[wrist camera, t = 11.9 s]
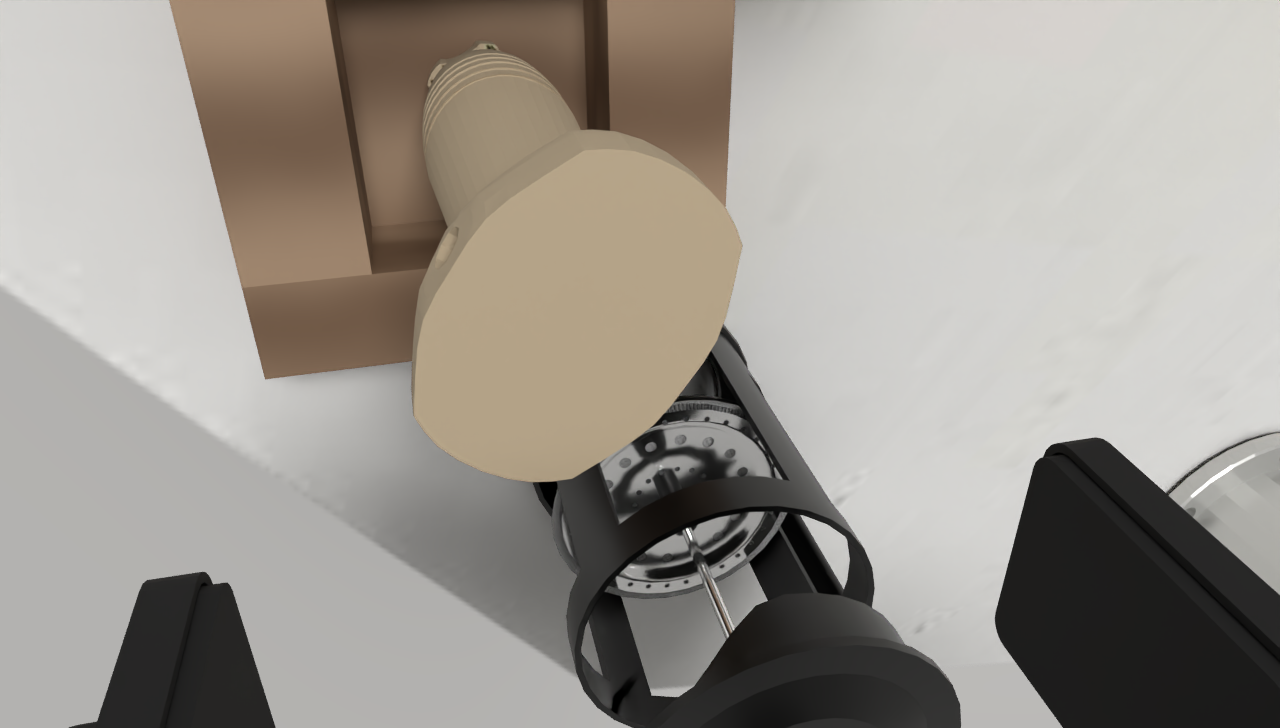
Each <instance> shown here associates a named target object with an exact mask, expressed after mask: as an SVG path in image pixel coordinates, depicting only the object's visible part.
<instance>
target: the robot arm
mask: <svg viewBox="0 0 1280 728" xmlns="http://www.w3.org/2000/svg"><path fill="white" fill-rule="evenodd" d="M995 625H996V629H997V633H998V636H999V638H1000V640H1001V642H1002V644H1003V645H1004V647H1005V648H1006V650H1007V651H1008V652H1009V654H1010V655H1011V656H1012V658H1013V659H1014V661H1015V662H1016V663H1017V665H1018V666H1019V667H1020V669H1021V670H1022V672H1023V673H1024V674H1025V676H1026V677H1027V679H1028V680H1029V681H1030V682H1031V684H1032V685H1033V687H1034V688H1035V690H1036V691H1037V692H1038V694H1039V695H1040V696H1041V698H1042V699H1043V700H1044V702H1045V703H1046V705H1047V706H1048V708H1049V709H1050V710H1051V712H1052V713H1053V714H1054V716H1055V717H1056V719H1057V720H1058V721H1059V723H1060V724H1061V725H1062V727H1063V728H1280V433H1275V434H1270V435H1267V436H1263V437H1260V438H1256V439H1253V440H1250V441H1248V442H1245V443H1243V444H1241V445H1238V446H1236V447H1234V448H1232V449H1229V450H1228V451H1226V452H1224V453H1223V454H1221V455H1219V456H1217V457H1216V458H1214V459H1212V460H1211V461H1209V462H1207V463H1206V464H1205V465H1203V466H1202V467H1201V468H1199V469H1198V470H1197V471H1195V472H1194V473H1193V474H1191V475H1190V476H1189V477H1187V478H1186V479H1185V480H1184V481H1183V482H1182V483H1181V484H1180V485H1179V486H1178V487H1177V488H1176V489H1174V490H1173V491H1172V492H1171V493H1170V494H1169V495H1167V494H1166V493H1165V492H1164V491H1163V490H1162V489H1160V488H1159V487H1158V486H1157V485H1156V484H1155V483H1154V482H1153V481H1151V480H1150V479H1149V478H1148V477H1147V476H1146V475H1145V474H1144V473H1143V472H1141V471H1140V470H1139V469H1138V468H1137V467H1136V466H1135V465H1134V464H1132V463H1131V462H1130V461H1129V460H1128V459H1127V458H1126V457H1125V456H1123V455H1122V454H1121V453H1120V452H1119V451H1118V450H1117V449H1116V448H1115V447H1113V446H1112V445H1111V444H1110V443H1108V442H1107V441H1105V440H1104V439H1101V438H1089V439H1083V440H1076V441H1069V442H1063V443H1057V444H1053V445H1051V446H1050V447H1049V448H1048V449H1047V450H1046V452H1045V454H1044V457H1043V458H1040V459H1039V460H1038V461H1037V462H1036V463H1035V466H1034V468H1033V472H1032V476H1031V479H1030V483H1029V487H1028V491H1027V495H1026V498H1025V502H1024V506H1023V510H1022V514H1021V518H1020V521H1019V525H1018V529H1017V533H1016V537H1015V541H1014V544H1013V548H1012V552H1011V556H1010V560H1009V564H1008V567H1007V571H1006V575H1005V579H1004V583H1003V586H1002V590H1001V594H1000V598H999V602H998V606H997V609H996V614H995ZM69 728H275V725H274V721H273V718H272V715H271V712H270V709H269V705H268V702H267V699H266V696H265V693H264V689H263V686H262V683H261V680H260V677H259V674H258V671H257V667H256V665H255V661H254V658H253V655H252V651H251V648H250V645H249V642H248V638H247V635H246V632H245V629H244V626H243V623H242V620H241V616H240V613H239V610H238V607H237V603H236V600H235V597H234V594H233V591H232V589H231V586H230V585H229V584H228V583H220V584H213V583H212V581H211V579H210V577H209V575H208V574H207V573H206V572H199V573H192V574H186V575H179V576H172V577H166V578H159V579H152V580H147V581H146V582H145V583H143V585H142V587H141V589H140V591H139V594H138V597H137V600H136V603H135V606H134V609H133V613H132V616H131V619H130V622H129V625H128V628H127V631H126V634H125V637H124V640H123V644H122V646H121V650H120V653H119V656H118V659H117V662H116V665H115V668H114V671H113V674H112V677H111V680H110V684H109V687H108V690H107V693H106V696H105V699H104V702H103V705H102V708H101V711H100V714H99V718H98V721H97V722H93V723H86V724H81V725H76V726H72V727H69Z"/></svg>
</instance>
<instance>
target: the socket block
mask: <svg viewBox="0 0 1280 728" xmlns="http://www.w3.org/2000/svg"><path fill="white" fill-rule="evenodd" d="M169 1H170V5H171V9H172V13H173V17H174V21H175V25H176V29H177V33H178V37H179V41H180V45H181V49H182V53H183V57H184V61H185V65H186V68H187V72H188V76H189V80H190V84H191V88H192V92H193V96H194V100H195V104H196V108H197V112H198V116H199V120H200V124H201V128H202V132H203V136H204V140H205V144H206V148H207V151H208V155H209V159H210V163H211V167H212V171H213V175H214V179H215V183H216V187H217V191H218V195H219V199H220V203H221V207H222V211H223V215H224V219H225V223H226V227H227V231H228V234H229V238H230V242H231V246H232V250H233V254H234V258H235V262H236V266H237V270H238V274H239V278H240V282H241V286H242V290H243V294H244V298H245V302H246V306H247V310H248V314H249V317H250V321H251V325H252V329H253V333H254V337H255V341H256V345H257V349H258V353H259V357H260V361H261V365H262V369H263V373H264V377H265V379H271V378H279V377H287V376H295V375H303V374H311V373H320V372H328V371H336V370H344V369H352V368H360V367H368V366H376V365H384V364H392V363H400V362H408V361H412V355H413V338H414V325H415V315H416V308H417V301H418V294H419V289H420V286H421V284H422V282H423V279H424V277H425V275H426V272H427V270H428V268H429V265H430V263H431V261H432V258H433V256H434V254H435V252H436V250H437V248H438V246H439V243H440V241H441V239H442V237H443V235H444V233H445V231H446V230H447V228H448V226H447V224H446V221H445V219H444V216H443V214H442V211H441V208H440V206H439V203H438V201H437V198H436V196H435V193H434V190H433V188H432V185H431V183H430V180H429V177H428V172H427V167H426V162H425V156H424V151H423V135H422V130H423V129H422V123H423V112H424V105H425V100H426V97H427V93H428V90H429V87H428V78H429V74H430V72H431V69H432V68H433V67H434V65H435V64H436V62H437V61H438V60H440V59H450V58H454V57H456V56H458V55H461V54H462V53H464V52H465V51H467V50H468V49H469V48H470V47H472V46H473V44H474V42H475V41H477V40H482V41H490V42H493V43H494V44H495V45H496V46H497V47H498V48H499V50H500V51H502V52H505V53H508V54H511V55H514V56H516V57H518V58H520V59H522V60H524V61H525V62H527V63H528V64H530V65H531V66H532V67H534V68H535V69H536V70H538V71H539V72H540V73H541V74H542V75H543V76H544V77H545V78H546V79H547V80H548V81H549V82H550V83H551V84H552V85H553V86H554V87H555V88H556V90H557V91H558V92H559V94H560V95H561V97H562V98H563V99H564V101H565V102H566V104H567V105H568V107H569V108H570V110H571V111H572V113H573V115H574V117H575V119H576V121H577V123H578V125H579V127H580V130H591V129H592V130H605V131H616V132H620V133H623V134H626V135H629V136H632V137H636V138H639V139H642V140H644V141H646V142H648V143H650V144H652V145H654V146H656V147H658V148H660V149H662V150H663V151H665V152H667V153H669V154H670V155H671V156H673V157H674V158H675V159H677V160H678V161H679V162H681V163H682V164H683V165H685V166H686V167H687V168H688V169H690V170H691V171H692V172H693V173H694V174H695V175H696V176H697V177H698V178H699V179H700V180H701V181H702V182H703V183H704V184H705V185H706V187H707V188H708V189H709V190H710V191H711V192H712V193H713V194H714V195H715V196H716V198H717V199H718V200H719V201H720V202H721V203H722V204H723V205H724V207H726V185H727V164H728V142H729V121H730V99H731V78H732V56H733V35H734V13H735V0H169Z"/></svg>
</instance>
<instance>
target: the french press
mask: <svg viewBox="0 0 1280 728" xmlns="http://www.w3.org/2000/svg"><path fill="white" fill-rule="evenodd" d="M707 359H708V360H709V361H710V362H711V364H712V366H713V368H714V370H715V372H716V377H717V381H718V386H719V388H718V397H712V396H705V395H704V396H679V397H677V399H676V400H675V401H674V403H673V404H672V405H671V406H670V408H669V409H668V410H667V411H666V412H665V413H664V414H663V415H662V416H661V418H660V419H659V420H658V421H657V422H656V423H655V424H654V425H653V426H652V427H650V428H649V429H648V430H647V431H645V432H644V433H643V434H641V435H640V436H639V437H638V438H636V439H635V440H634V441H632V442H631V443H629V444H628V445H626V446H624V447H623V448H621V449H620V450H618V451H617V452H615V453H613V454H612V455H610V456H609V457H607V458H606V459H604V460H602V461H601V462H599V463H597V464H596V465H594V466H592V467H591V468H589V469H587V470H586V471H584V472H582V473H581V474H579V475H578V476H576V477H574V478H573V479H566V480H559V481H552V482H533V485H534V487H535V490H536V493H537V495H538V498H539V500H540V502H541V503H542V505H543V506H544V507H545V509H546V510H547V512H548V513H549V515H550V516H551V517H552V526H553V536H554V540H555V542H556V545H557V548H558V550H559V553H560V555H561V556H562V558H563V559H564V561H565V562H566V563H567V565H568V566H569V568H570V569H571V570H572V571H573V572H574V573H576V574H577V578H576V581H575V583H574V585H573V588H572V590H571V592H570V597H569V603H568V609H567V615H566V618H567V629H568V638H569V642H570V647H571V651H572V655H573V660H574V664H575V668H576V672H577V675H578V677H579V680H580V682H581V684H582V687H583V690H584V691H585V693H586V694H587V695H588V697H589V698H590V699H591V700H592V701H593V703H594V704H595V705H596V707H597V708H599V709H600V710H602V711H603V712H604V713H606V714H607V715H609V716H610V717H611V718H613V719H614V720H616V721H618V722H621V723H623V724H626V725H628V726H630V727H632V728H961V715H960V703H959V701H958V698H957V696H956V693H955V690H954V688H953V685H952V684H951V682H950V681H949V679H948V678H947V676H946V675H945V674H944V673H943V672H942V670H941V669H940V668H939V667H938V666H937V665H936V663H935V662H934V661H933V660H932V659H930V658H929V657H927V656H925V655H924V654H922V653H920V652H919V651H917V650H916V649H914V648H912V647H910V646H907V645H905V644H904V642H903V641H902V639H901V637H900V636H899V634H898V633H897V631H896V629H895V628H894V627H893V626H892V625H891V624H890V623H889V621H888V620H887V619H886V618H885V617H884V616H883V615H882V614H881V613H879V612H877V611H876V610H874V609H873V608H872V602H873V595H874V579H873V571H872V566H871V564H870V561H869V559H868V557H867V554H866V552H865V550H864V548H863V546H862V545H861V543H860V542H859V540H858V539H857V537H856V535H855V534H854V532H853V531H852V529H851V528H850V526H849V525H848V523H847V522H846V520H845V519H844V517H843V516H842V515H841V514H840V513H839V511H838V510H837V509H836V508H835V507H834V505H833V504H832V503H831V501H830V500H829V498H828V497H827V495H826V494H825V492H824V490H823V489H822V487H821V486H820V484H819V483H818V481H817V480H816V478H815V476H814V475H813V473H812V472H811V470H810V469H809V467H808V466H807V464H806V462H805V461H804V459H803V458H802V456H801V455H800V453H799V452H798V450H797V448H796V447H795V445H794V444H793V442H792V441H791V439H790V438H789V436H788V434H787V433H786V431H785V430H784V428H783V427H782V425H781V424H780V422H779V420H778V419H777V417H776V416H775V414H774V413H773V411H772V410H771V408H770V406H769V405H768V403H767V402H766V400H765V398H764V396H763V394H762V392H761V390H760V387H759V386H758V384H757V383H756V381H755V379H754V378H753V376H752V375H751V373H750V372H749V370H748V367H747V362H746V359H745V357H744V355H743V353H742V351H741V348H740V346H739V344H738V342H737V341H736V340H735V338H734V337H733V336H732V334H731V333H730V332H729V331H728V329H727V328H726V327H725V326H724V325H723V326H722V328H721V331H720V334H719V336H718V339H717V341H716V343H715V345H714V346H713V348H712V349H711V351H710V353H709V354H708V356H707ZM800 515H804V516H807V517H809V518H812V519H815V520H818V521H820V522H823V523H826V524H828V525H829V526H831V527H832V528H834V529H835V530H837V531H838V532H839V533H841V534H842V535H844V536H845V537H846V538H847V541H848V549H849V556H850V564H849V572H848V580H847V583H846V585H845V588H844V589H843V588H842V586H841V584H840V582H839V581H838V579H837V577H836V576H835V574H834V572H833V571H832V569H831V567H830V565H829V564H828V562H827V560H826V559H825V557H824V555H823V554H822V552H821V550H820V548H819V547H818V545H817V543H816V542H815V540H814V538H813V537H812V535H811V533H810V531H809V530H808V528H807V526H806V525H805V523H804V521H803V520H802V518H801V516H800ZM748 562H749V563H750V565H751V567H752V569H753V571H754V573H755V575H756V577H757V579H758V581H759V583H760V585H761V587H762V589H763V591H764V593H765V595H766V597H767V600H768V601H767V602H764V603H762V604H759V605H757V606H755V607H754V608H753V610H752V611H751V612H750V613H749V614H748V615H747V616H746V617H745V618H744V619H743V620H742V622H741V623H740V624H739V625H738V626H737V627H736V628H735V627H734V624H733V622H732V620H731V617H730V615H729V613H728V610H727V608H726V606H725V604H724V601H723V599H722V597H721V594H720V592H719V590H718V587H717V585H716V582H718V581H720V580H722V579H724V578H726V577H728V576H730V575H731V574H733V573H734V572H736V571H737V570H738V569H740V568H741V567H743V566H744V565H746V564H747V563H748ZM704 587H705V589H706V592H707V594H708V597H709V599H710V601H711V604H712V606H713V609H714V611H715V614H716V616H717V618H718V621H719V623H720V626H721V628H722V630H723V633H724V635H725V638H726V641H725V643H724V644H723V646H722V647H721V649H720V650H719V652H718V653H717V655H716V656H715V658H714V659H713V661H712V662H711V664H710V665H709V667H708V668H707V670H706V671H705V672H704V674H703V675H702V676H701V678H700V679H699V681H698V682H697V683H696V685H695V686H694V687H693V688H691V689H690V690H688V691H687V692H685V693H684V694H682V695H681V696H680V697H664V696H651V692H650V689H649V686H648V683H647V679H646V676H645V673H644V670H643V666H642V663H641V660H640V657H639V653H638V650H637V647H636V644H635V640H634V637H633V634H632V631H631V627H630V624H629V621H628V618H627V614H626V611H625V608H624V605H623V601H622V598H621V596H622V597H632V598H641V599H649V598H667V597H672V596H677V595H682V594H687V593H690V592H693V591H696V590H699V589H702V588H704ZM588 620H589V624H590V628H591V631H592V635H593V639H594V643H595V647H596V651H597V654H598V658H599V662H600V666H601V670H602V674H603V676H602V675H600V674H599V673H598V672H596V671H595V670H594V669H593V668H592V667H591V665H590V664H589V663H588V661H587V660H586V659H585V657H584V656H583V655H582V653H581V646H582V641H583V636H584V630H585V626H586V624H587V622H588Z"/></svg>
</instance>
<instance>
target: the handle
mask: <svg viewBox="0 0 1280 728" xmlns="http://www.w3.org/2000/svg"><path fill="white" fill-rule="evenodd" d="M428 87H429V90H428V93H427V97H426V100H425V105H424V112H423V123H422V129H423V130H422V135H423V151H424V156H425V162H426V167H427V172H428V177H429V180H430V183H431V185H432V188H433V190H434V193H435V196H436V198H437V201H438V203H439V206H440V208H441V211H442V214H443V216H444V219H445V221H446V224H447V226H448V228H447V230H446V231H445V233H444V235H443V237H442V239H441V241H440V243H439V246H438V248H437V250H436V252H435V254H434V256H433V258H432V261H431V263H430V265H429V268H428V270H427V272H426V275H425V277H424V279H423V282H422V284H421V286H420V289H419V294H418V301H417V308H416V315H415V325H414V338H413V355H412V386H411V390H412V404H413V415H414V417H415V419H416V420H417V422H418V423H419V425H420V426H421V428H422V429H423V431H424V432H425V433H426V434H427V435H428V436H429V438H430V439H431V440H432V441H433V442H434V443H435V444H436V445H437V446H438V447H439V448H441V449H442V450H444V451H445V452H447V453H448V454H449V455H451V456H452V457H454V458H455V459H457V460H459V461H461V462H463V463H465V464H467V465H469V466H471V467H474V468H476V469H478V470H480V471H483V472H486V473H489V474H493V475H496V476H499V477H503V478H506V479H512V480H519V481H526V482H552V481H559V480H566V479H573V478H574V477H576V476H578V475H579V474H581V473H582V472H584V471H586V470H587V469H589V468H591V467H592V466H594V465H596V464H597V463H599V462H601V461H602V460H604V459H606V458H607V457H609V456H610V455H612V454H613V453H615V452H617V451H618V450H620V449H621V448H623V447H624V446H626V445H628V444H629V443H631V442H632V441H634V440H635V439H636V438H638V437H639V436H640V435H641V434H643V433H644V432H645V431H647V430H648V429H649V428H650V427H652V426H653V425H654V424H655V423H656V422H657V421H658V420H659V419H660V418H661V416H662V415H663V414H664V413H665V412H666V411H667V410H668V409H669V408H670V406H671V405H672V404H673V403H674V401H675V400H676V399H677V397H678V396H679V395H680V393H681V392H682V391H683V389H684V388H685V387H686V385H687V384H688V383H689V381H690V380H691V379H692V377H693V376H694V375H695V373H696V372H697V371H698V369H699V368H700V367H701V365H702V364H703V363H704V361H705V359H706V358H707V356H708V354H709V353H710V351H711V349H712V348H713V346H714V345H715V343H716V341H717V339H718V336H719V334H720V331H721V328H722V326H723V323H724V320H725V318H726V314H727V310H728V306H729V302H730V298H731V294H732V290H733V286H734V282H735V277H736V272H737V268H738V263H739V259H740V254H741V250H742V243H741V240H740V237H739V234H738V232H737V229H736V226H735V224H734V222H733V221H732V219H731V217H730V215H729V213H728V211H727V209H726V208H725V207H724V205H723V204H722V203H721V202H720V201H719V200H718V199H717V198H716V196H715V195H714V194H713V193H712V192H711V191H710V190H709V189H708V188H707V187H706V185H705V184H704V183H703V182H702V181H701V180H700V179H699V178H698V177H697V176H696V175H695V174H694V173H693V172H692V171H691V170H690V169H688V168H687V167H686V166H685V165H683V164H682V163H681V162H679V161H678V160H677V159H675V158H674V157H673V156H671V155H670V154H669V153H667V152H665V151H663V150H662V149H660V148H658V147H656V146H654V145H652V144H650V143H648V142H646V141H644V140H642V139H639V138H636V137H632V136H629V135H626V134H623V133H620V132H616V131H605V130H592V129H591V130H580V127H579V125H578V123H577V121H576V119H575V117H574V115H573V113H572V111H571V110H570V108H569V107H568V105H567V104H566V102H565V101H564V99H563V98H562V97H561V95H560V94H559V92H558V91H557V90H556V88H555V87H554V86H553V85H552V84H551V83H550V82H549V81H548V80H547V79H546V78H545V77H544V76H543V75H542V74H541V73H540V72H539V71H538V70H536V69H535V68H534V67H532V66H531V65H530V64H528V63H527V62H525V61H524V60H522V59H520V58H518V57H516V56H514V55H511V54H508V53H505V52H502V51H500V50H499V48H498V47H497V46H496V45H495V44H494V43H493V42H490V41H482V40H477V41H475V42H474V44H473V46H472V47H470V48H469V49H468V50H467V51H465V52H464V53H462V54H461V55H458V56H456V57H454V58H450V59H440V60H438V61H437V62H436V64H435V65H434V67H433V68H432V69H431V72H430V74H429V78H428Z"/></svg>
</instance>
